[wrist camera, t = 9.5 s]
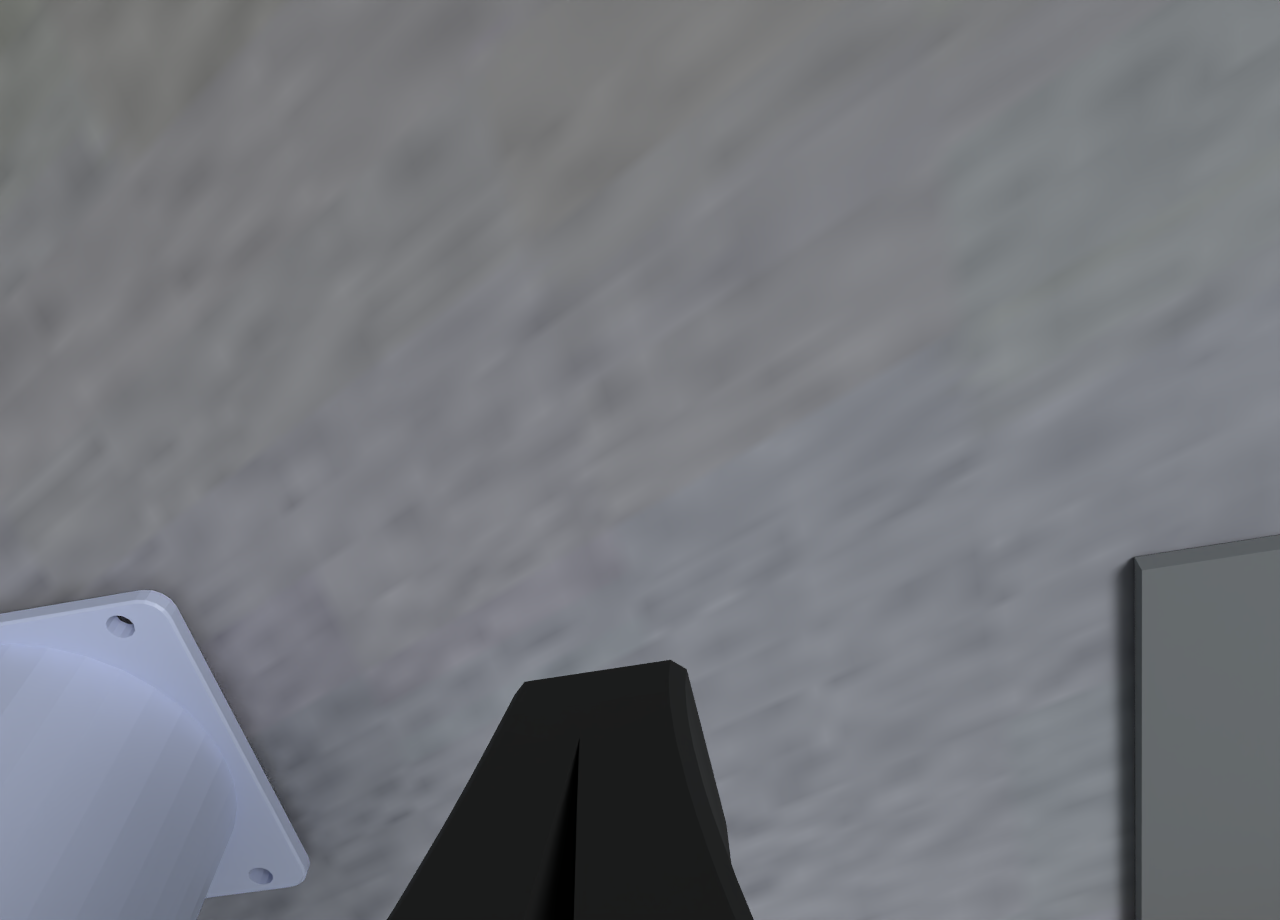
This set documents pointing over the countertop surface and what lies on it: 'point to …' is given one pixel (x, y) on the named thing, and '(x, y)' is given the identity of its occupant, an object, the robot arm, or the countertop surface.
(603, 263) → the countertop surface
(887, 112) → the countertop surface
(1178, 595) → the mat
